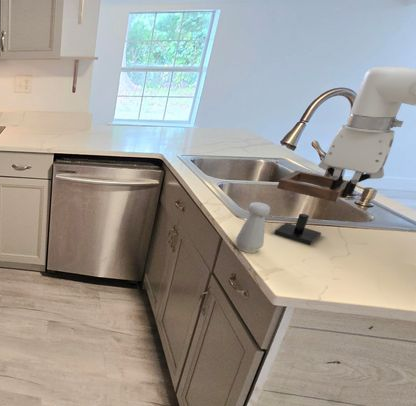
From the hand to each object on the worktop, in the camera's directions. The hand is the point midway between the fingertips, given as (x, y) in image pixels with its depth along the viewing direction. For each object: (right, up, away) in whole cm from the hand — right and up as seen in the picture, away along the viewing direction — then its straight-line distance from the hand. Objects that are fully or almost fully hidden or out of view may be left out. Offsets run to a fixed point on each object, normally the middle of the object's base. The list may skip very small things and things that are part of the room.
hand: (339, 194), depth 92 cm
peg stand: (-3, -11, +9) cm, 15 cm away
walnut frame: (-3, +2, +4) cm, 5 cm away
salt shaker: (-21, -14, +4) cm, 26 cm away
